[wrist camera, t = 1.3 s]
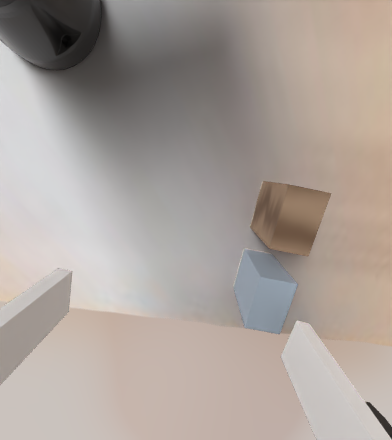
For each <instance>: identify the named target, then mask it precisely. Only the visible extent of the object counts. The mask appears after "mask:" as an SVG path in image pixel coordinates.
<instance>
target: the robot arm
mask: <svg viewBox="0 0 392 440" xmlns="http://www.w3.org/2000/svg"><path fill="white" fill-rule="evenodd" d="M100 24H101V2H100V0H0V40H1V41H2V42H3V43H4V44H5V45H6V46H7V47H8V48H10V49H11V50H12V51H13V52H15V53H16V54H18V55H19V56H21V57H22V58H24V59H26V60H27V61H29V62H30V63H32V64H34V65H36V66H39V67H42V68H45V69H51V70H60V69H66V68H69V67H72V66H74V65H76V64H77V63H79V62H80V61H82V60H83V59H84V58H85V57H86V56H87V55H88V54H89V52H90V51H91V49H92V48H93V46H94V44H95V42H96V40H97V37H98V34H99V30H100ZM71 280H72V271H70V270H65V269H60V268H58V269H57V270H55V271H54V272H52V273H51V274H49V275H48V276H46V277H45V278H43V279H42V280H40V281H39V282H38V283H36V284H35V285H33V286H32V287H30V288H29V289H27V290H26V291H24V292H23V293H22V294H20V295H19V296H17V297H16V298H14V299H13V300H11V301H10V302H8V303H7V304H6V305H4V306H3V307H1V308H0V385H1V384H2V383H3V382H4V381H5V380H6V379H7V378H8V376H9V375H10V374H11V373H12V372H13V371H14V370H15V369H16V368H17V367H18V366H19V365H20V364H21V363H22V361H23V360H24V359H25V358H26V357H27V356H28V355H29V354H30V353H31V352H32V351H33V349H35V348H36V347H37V345H38V344H39V343H40V342H41V341H42V340H43V339H44V338H45V337H46V336H47V335H48V333H50V331H51V330H52V329H53V328H54V327H55V326H56V325H57V324H58V323H59V322H60V321H61V320H62V319H63V318H64V316H65V315H66V314H67V313H68V312H69V304H70V292H71ZM281 359H282V361H283V364H284V366H285V368H286V370H287V373H288V375H289V377H290V380H291V382H292V384H293V387H294V389H295V392H296V394H297V396H298V398H299V401H300V403H301V405H302V408H303V410H304V412H305V415H306V417H307V419H308V422H309V424H310V426H311V428H312V431H313V433H314V436H315V438H316V440H392V427H391V425H390V424H389V423H388V421H387V420H386V419H385V418H384V417H383V416H382V415H381V414H380V413H379V412H378V411H377V410H376V408H375V407H373V406H372V404H371V403H369V402H365V401H364V400H363V398H362V397H361V396H360V394H359V393H358V391H357V390H356V389H355V387H354V386H353V384H352V383H351V382H350V380H349V379H348V377H347V376H346V375H345V373H344V372H343V370H342V369H341V367H340V366H339V365H338V363H337V362H336V361H335V359H334V358H333V356H332V355H331V353H330V352H329V351H328V349H327V348H326V346H325V345H324V344H323V342H322V341H321V339H320V338H319V337H318V335H317V334H316V332H315V331H314V329H313V328H312V327H311V325H310V324H309V323H306V322H301V321H296V323H295V325H294V327H293V330H292V332H291V334H290V337H289V339H288V341H287V344H286V346H285V348H284V350H283V353H282V355H281Z"/></svg>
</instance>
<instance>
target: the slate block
mask: <svg viewBox="0 0 392 440" xmlns="http://www.w3.org/2000/svg"><path fill="white" fill-rule="evenodd" d="M297 286H298V284H297V283H296V281H295V280H294V279H293V278H292V277H291V276H290V274H289V273H288V272H287V271H286V270H285V269H284V268H283V266H282V265H281V264H280V263H279V262H278V261H277V259H276V258H275V257H274V256H273V255H272V254H271V253H267V252H262V251H257V250H252V249H247V248H244V250H243V253H242V257H241V260H240V264H239V268H238V271H237V275H236V278H235V282H234V286H233V288H234V291H235V295H236V298H237V302H238V306H239V309H240V313H241V316H242V320H243V323H244V327H245V328H249V329H254V330H259V331H266V332H271V333H275V334H280V332H281V329H282V327H283V324H284V321H285V318H286V316H287V313H288V310H289V308H290V305H291V302H292V299H293V297H294V294H295V291H296V288H297Z"/></svg>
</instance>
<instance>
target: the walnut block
mask: <svg viewBox="0 0 392 440" xmlns="http://www.w3.org/2000/svg"><path fill="white" fill-rule="evenodd" d="M330 196H331V193H327V192H322V191H318V190H313V189H308V188H303V187H298V186H293V185H288V184H281V183H274V182H266V181H262V184H261V188H260V192H259V195H258V199H257V202H256V206H255V210H254V213H253V217H252V221H251V224H250V228H251V229H252V230H253V231H254V232H255V233H256V234H257V235H258V237H259V238H260V239H261V240H262V241H263V242H264V243H265V244H266V246H267V247H268V248H269V249H273V250H278V251H284V252H289V253H294V254H299V255H304V256H309V253H310V250H311V247H312V245H313V242H314V239H315V237H316V234H317V231H318V228H319V226H320V223H321V220H322V217H323V215H324V212H325V209H326V207H327V204H328V201H329V198H330Z"/></svg>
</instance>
